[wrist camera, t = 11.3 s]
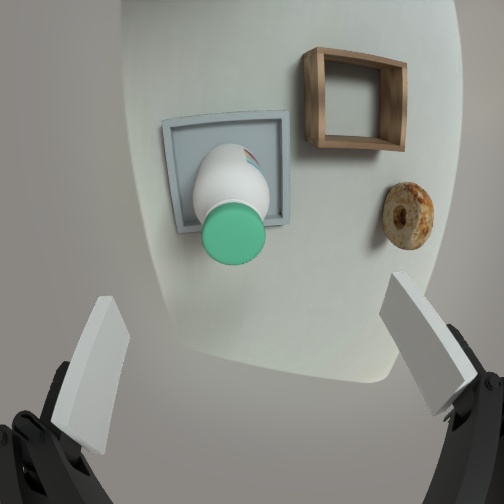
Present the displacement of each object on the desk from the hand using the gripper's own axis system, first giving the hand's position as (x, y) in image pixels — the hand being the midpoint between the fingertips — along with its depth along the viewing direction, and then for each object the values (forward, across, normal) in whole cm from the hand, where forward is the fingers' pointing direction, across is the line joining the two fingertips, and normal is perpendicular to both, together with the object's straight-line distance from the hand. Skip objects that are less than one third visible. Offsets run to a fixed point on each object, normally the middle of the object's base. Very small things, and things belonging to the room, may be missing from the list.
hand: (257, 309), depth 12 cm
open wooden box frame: (+29, +16, +9) cm, 34 cm away
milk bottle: (+28, -1, -1) cm, 28 cm away
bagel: (+29, +25, -7) cm, 39 cm away
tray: (+29, -1, -1) cm, 29 cm away
